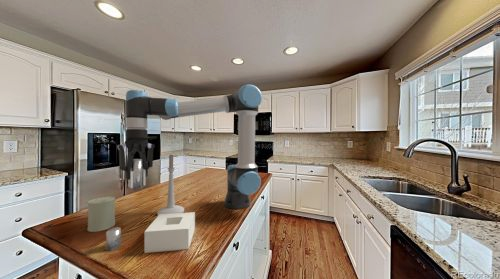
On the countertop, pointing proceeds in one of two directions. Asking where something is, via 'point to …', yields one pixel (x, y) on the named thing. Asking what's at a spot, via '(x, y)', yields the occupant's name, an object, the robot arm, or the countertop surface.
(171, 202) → the candlestick
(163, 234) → the hole block
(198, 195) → the countertop surface
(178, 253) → the countertop surface
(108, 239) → the short pin
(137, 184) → the long pin
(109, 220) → the can
